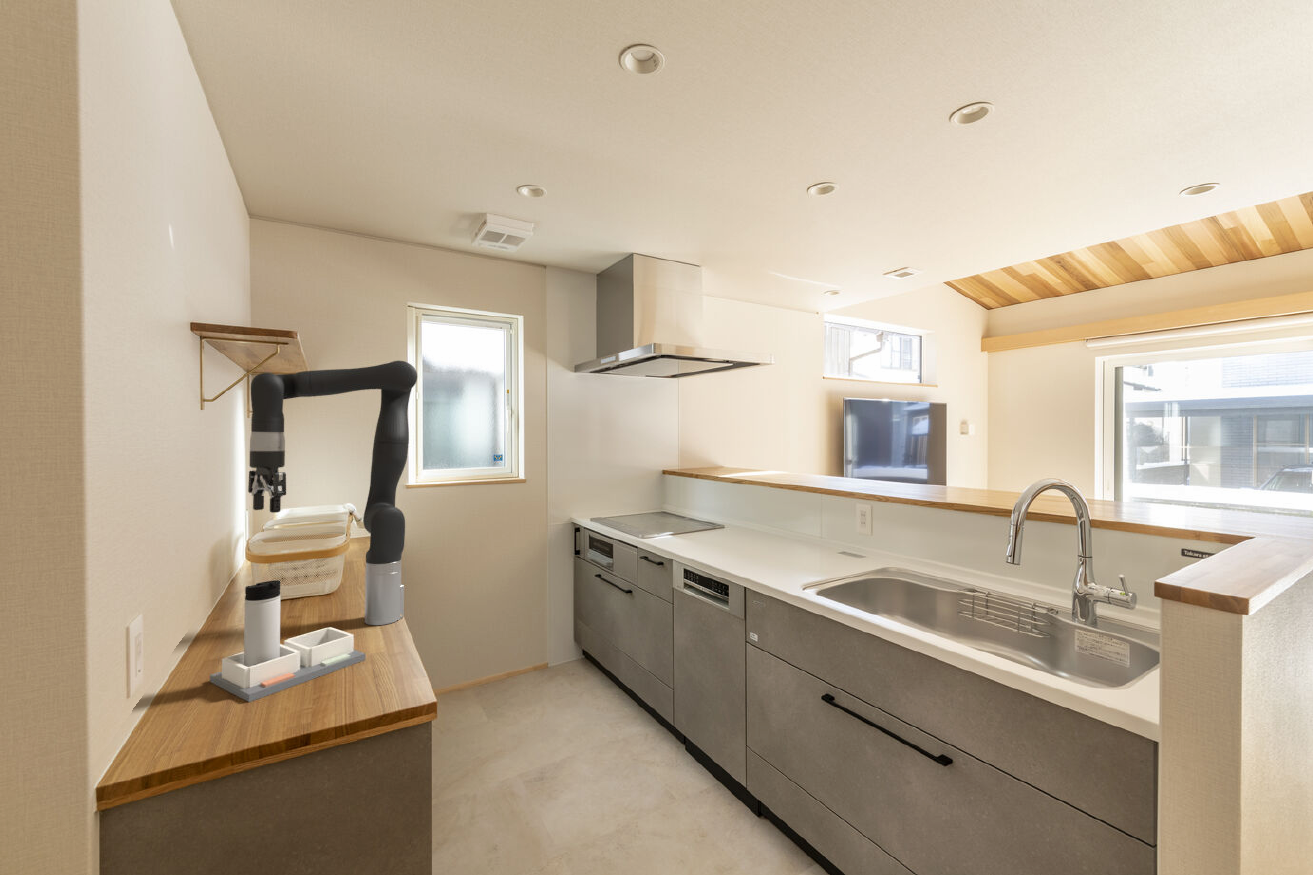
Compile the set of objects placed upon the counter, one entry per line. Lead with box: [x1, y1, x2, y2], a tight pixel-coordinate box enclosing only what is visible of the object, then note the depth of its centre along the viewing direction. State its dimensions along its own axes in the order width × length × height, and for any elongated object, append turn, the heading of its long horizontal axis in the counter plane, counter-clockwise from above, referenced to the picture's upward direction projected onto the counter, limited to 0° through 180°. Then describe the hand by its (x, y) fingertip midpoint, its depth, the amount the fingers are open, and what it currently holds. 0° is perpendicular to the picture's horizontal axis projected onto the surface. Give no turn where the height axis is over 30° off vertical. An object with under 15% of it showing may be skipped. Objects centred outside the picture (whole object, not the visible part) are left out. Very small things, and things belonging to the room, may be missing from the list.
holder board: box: [209, 626, 366, 703], centre depth 122 cm, size 24×17×6 cm
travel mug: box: [243, 579, 282, 667], centre depth 116 cm, size 6×7×20 cm
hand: (266, 510), depth 141 cm, fingers open, 8 cm apart
